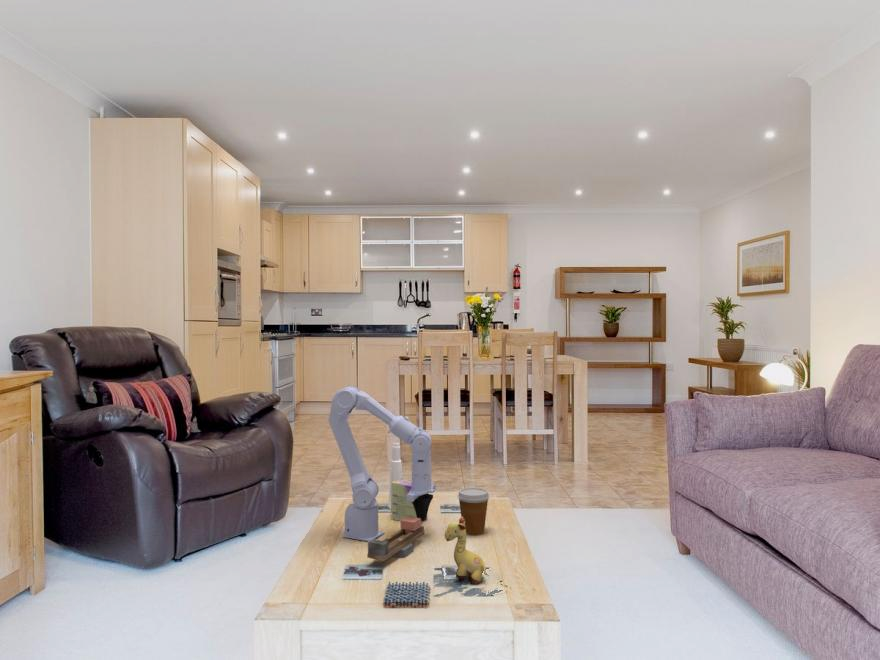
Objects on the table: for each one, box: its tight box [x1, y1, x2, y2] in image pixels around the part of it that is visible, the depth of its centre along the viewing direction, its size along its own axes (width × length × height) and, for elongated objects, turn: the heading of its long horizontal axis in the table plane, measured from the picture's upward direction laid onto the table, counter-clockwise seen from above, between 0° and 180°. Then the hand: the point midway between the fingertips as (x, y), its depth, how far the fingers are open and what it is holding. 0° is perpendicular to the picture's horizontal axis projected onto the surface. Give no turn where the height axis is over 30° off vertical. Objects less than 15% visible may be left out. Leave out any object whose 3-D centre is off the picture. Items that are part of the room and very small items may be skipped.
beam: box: [366, 525, 425, 561], centre depth 163 cm, size 7×22×6 cm, turn 154°
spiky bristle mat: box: [382, 581, 431, 609], centre depth 135 cm, size 10×11×2 cm
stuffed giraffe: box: [432, 516, 503, 597], centre depth 144 cm, size 16×18×16 cm
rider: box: [399, 516, 422, 534], centre depth 170 cm, size 4×4×4 cm
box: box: [390, 479, 428, 524], centre depth 191 cm, size 10×6×12 cm, turn 58°
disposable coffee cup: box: [457, 487, 490, 536], centre depth 180 cm, size 10×10×12 cm
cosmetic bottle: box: [387, 442, 404, 509], centre depth 204 cm, size 6×6×22 cm
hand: (421, 520), depth 175 cm, fingers closed
